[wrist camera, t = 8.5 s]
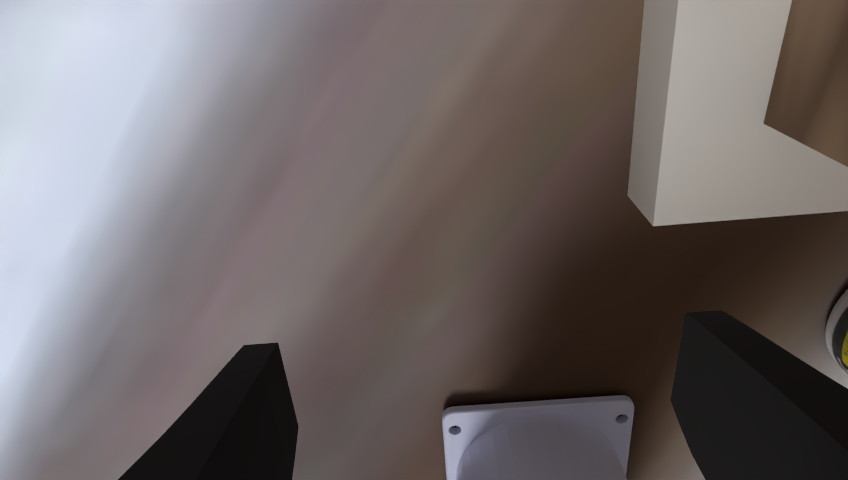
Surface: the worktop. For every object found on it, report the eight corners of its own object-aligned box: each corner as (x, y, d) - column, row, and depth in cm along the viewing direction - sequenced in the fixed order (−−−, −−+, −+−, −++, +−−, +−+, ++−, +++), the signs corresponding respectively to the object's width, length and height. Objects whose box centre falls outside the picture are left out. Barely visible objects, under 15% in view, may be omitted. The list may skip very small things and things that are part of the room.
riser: (906, 166, 21) (979, 200, 18) (622, 189, 21) (652, 226, 18) (1015, -177, 16) (1136, -200, 13) (649, -142, 16) (695, -158, 14)
